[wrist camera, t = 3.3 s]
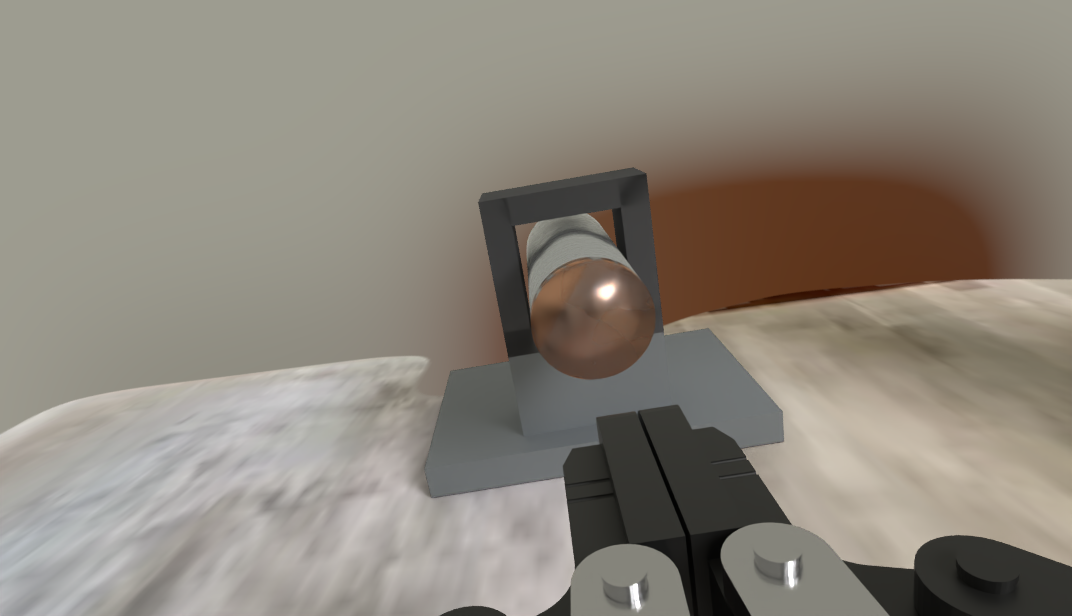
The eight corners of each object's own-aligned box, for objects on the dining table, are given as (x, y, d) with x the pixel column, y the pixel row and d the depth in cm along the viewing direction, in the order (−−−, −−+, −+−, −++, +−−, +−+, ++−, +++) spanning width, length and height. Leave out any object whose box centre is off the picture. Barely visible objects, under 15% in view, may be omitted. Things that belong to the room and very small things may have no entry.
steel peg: (612, 281, 31) (602, 202, 29) (661, 368, 20) (648, 251, 19) (534, 295, 31) (520, 216, 30) (541, 388, 20) (520, 272, 19)
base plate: (710, 350, 38) (703, 265, 36) (784, 441, 27) (778, 326, 26) (455, 392, 38) (436, 309, 37) (431, 497, 28) (403, 388, 26)
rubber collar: (650, 311, 30) (633, 167, 28) (663, 331, 27) (646, 173, 25) (509, 334, 30) (482, 193, 28) (508, 357, 27) (478, 202, 25)
